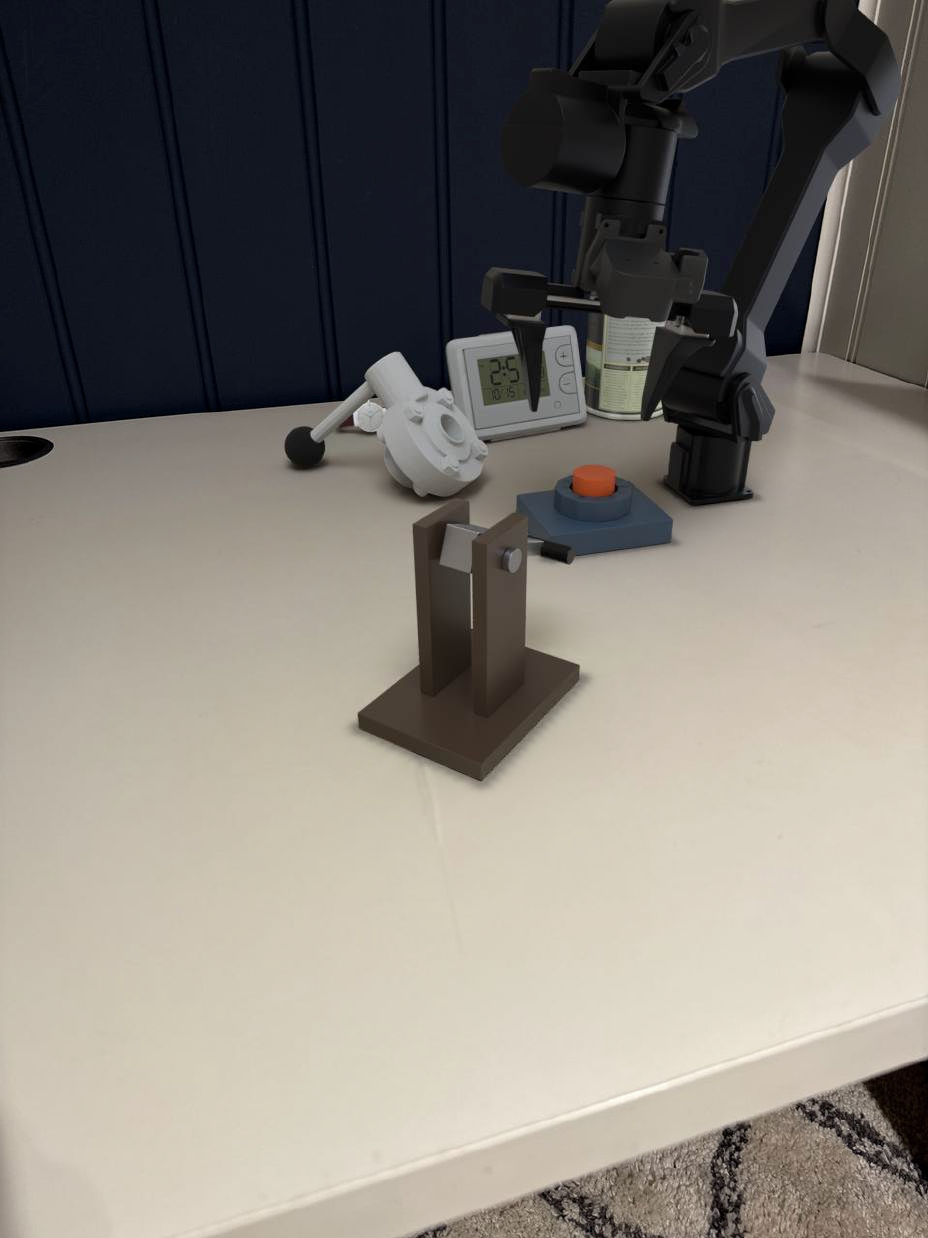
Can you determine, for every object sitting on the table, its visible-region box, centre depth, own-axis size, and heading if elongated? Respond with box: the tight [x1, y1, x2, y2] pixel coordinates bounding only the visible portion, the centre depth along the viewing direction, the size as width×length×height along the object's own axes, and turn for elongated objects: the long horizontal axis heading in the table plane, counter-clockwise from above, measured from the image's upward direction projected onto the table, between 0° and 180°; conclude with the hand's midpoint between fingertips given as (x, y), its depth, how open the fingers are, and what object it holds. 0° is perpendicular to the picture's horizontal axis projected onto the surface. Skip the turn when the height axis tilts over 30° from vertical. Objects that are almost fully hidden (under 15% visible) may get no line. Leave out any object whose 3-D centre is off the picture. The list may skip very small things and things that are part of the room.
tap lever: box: [439, 523, 576, 575], centre depth 55 cm, size 10×5×2 cm, turn 146°
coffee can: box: [584, 291, 666, 421], centre depth 105 cm, size 10×10×14 cm
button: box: [572, 464, 617, 497], centre depth 77 cm, size 4×4×2 cm
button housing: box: [515, 474, 674, 557], centre depth 78 cm, size 11×9×4 cm
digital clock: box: [445, 325, 588, 443], centre depth 100 cm, size 16×9×11 cm, turn 103°
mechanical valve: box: [283, 351, 489, 498], centre depth 89 cm, size 10×18×15 cm
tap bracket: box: [357, 497, 581, 781], centre depth 54 cm, size 12×9×13 cm
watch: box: [337, 399, 386, 433], centre depth 103 cm, size 8×5×4 cm, turn 104°
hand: (589, 415), depth 71 cm, fingers open, 9 cm apart
